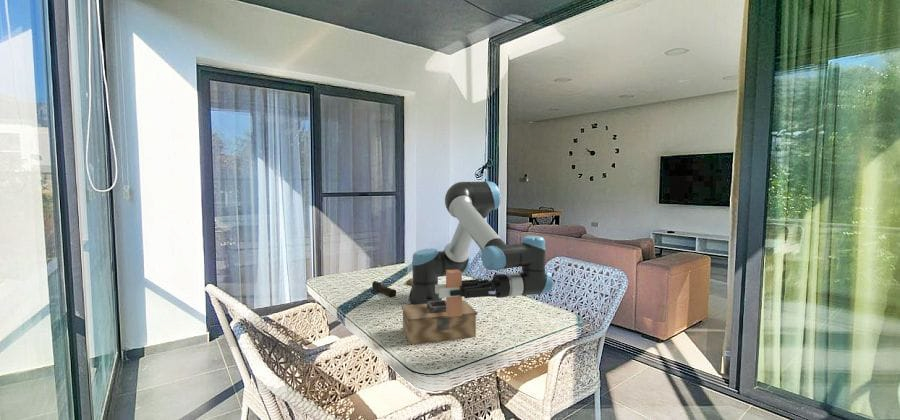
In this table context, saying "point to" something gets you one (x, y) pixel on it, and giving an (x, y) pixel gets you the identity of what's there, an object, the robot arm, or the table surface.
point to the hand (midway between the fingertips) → (437, 291)
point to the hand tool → (384, 289)
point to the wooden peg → (456, 302)
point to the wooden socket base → (437, 322)
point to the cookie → (410, 282)
